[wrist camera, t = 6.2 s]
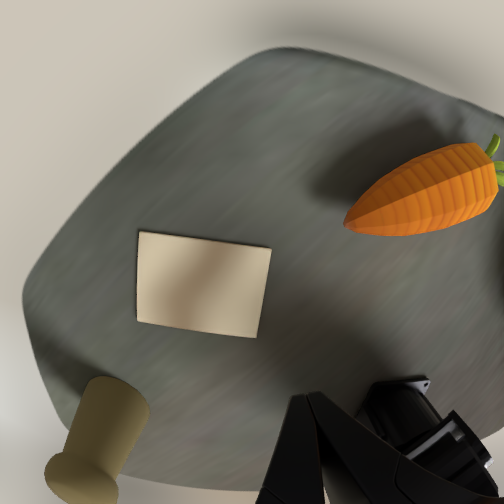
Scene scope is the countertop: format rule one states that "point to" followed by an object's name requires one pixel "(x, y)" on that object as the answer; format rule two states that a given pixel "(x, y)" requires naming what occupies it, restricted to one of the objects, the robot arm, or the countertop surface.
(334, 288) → the countertop surface
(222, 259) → the beige rectangular sheet
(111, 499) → the cork
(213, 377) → the countertop surface
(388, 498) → the robot arm
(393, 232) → the carrot
